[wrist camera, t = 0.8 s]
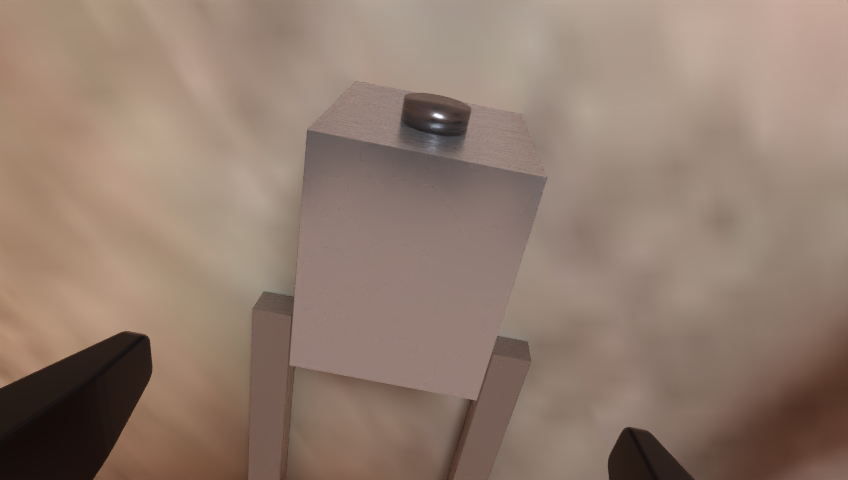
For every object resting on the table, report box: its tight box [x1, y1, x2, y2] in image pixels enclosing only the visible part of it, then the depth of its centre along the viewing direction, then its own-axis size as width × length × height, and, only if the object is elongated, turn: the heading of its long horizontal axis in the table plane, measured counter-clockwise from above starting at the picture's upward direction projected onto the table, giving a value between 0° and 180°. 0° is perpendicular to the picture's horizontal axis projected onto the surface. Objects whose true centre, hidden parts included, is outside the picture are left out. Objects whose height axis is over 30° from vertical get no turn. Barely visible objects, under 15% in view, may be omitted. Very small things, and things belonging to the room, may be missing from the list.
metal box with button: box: [289, 81, 547, 401], centre depth 16 cm, size 6×8×6 cm
